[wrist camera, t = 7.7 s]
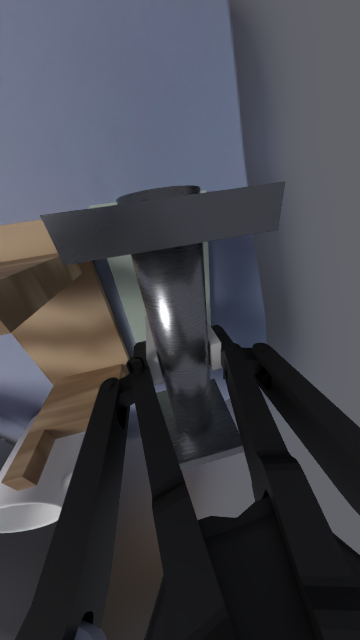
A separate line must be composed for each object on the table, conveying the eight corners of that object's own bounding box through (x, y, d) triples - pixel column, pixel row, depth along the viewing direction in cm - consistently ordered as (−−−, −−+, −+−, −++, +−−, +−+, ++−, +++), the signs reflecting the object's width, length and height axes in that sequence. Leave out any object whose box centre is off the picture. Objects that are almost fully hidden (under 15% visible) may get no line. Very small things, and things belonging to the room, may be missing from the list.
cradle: (-55, 234, 13) (-514, 261, 4) (75, 216, 14) (-53, 203, 5) (69, 395, 24) (23, 503, 15) (138, 378, 25) (135, 470, 16)
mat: (90, 206, 14) (88, 205, 14) (203, 191, 15) (206, 189, 15) (148, 378, 26) (148, 381, 25) (211, 363, 27) (212, 366, 26)
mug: (95, 391, 25) (70, 483, 16) (119, 419, 29) (109, 503, 21) (16, 417, 25) (-54, 526, 16) (52, 442, 29) (13, 537, 20)
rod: (96, 211, 11) (29, 193, 4) (208, 195, 12) (288, 161, 5) (158, 402, 22) (165, 477, 15) (214, 387, 22) (243, 454, 16)
